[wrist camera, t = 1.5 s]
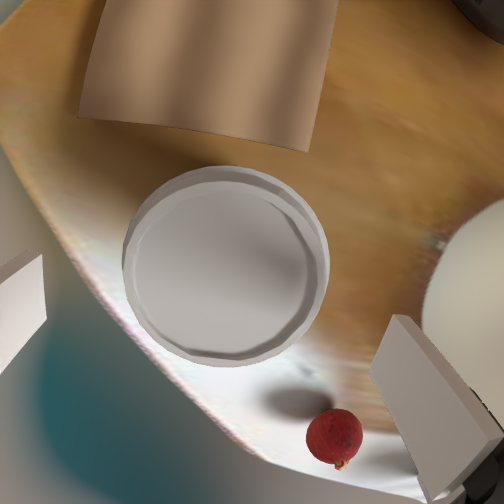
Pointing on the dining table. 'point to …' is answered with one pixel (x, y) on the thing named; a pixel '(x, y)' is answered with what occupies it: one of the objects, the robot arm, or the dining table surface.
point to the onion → (334, 437)
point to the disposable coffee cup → (225, 266)
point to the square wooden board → (212, 66)
